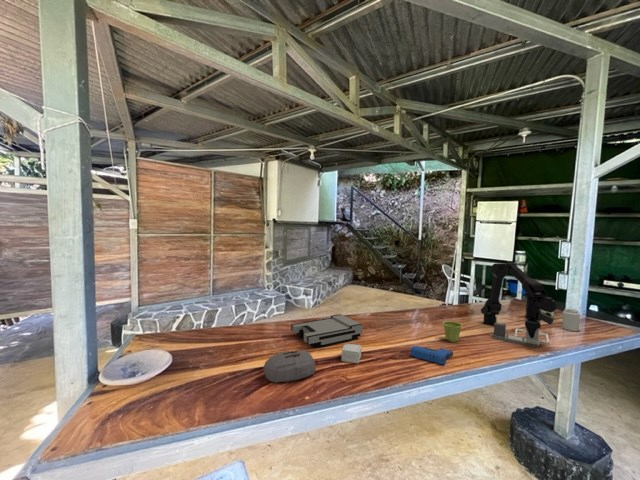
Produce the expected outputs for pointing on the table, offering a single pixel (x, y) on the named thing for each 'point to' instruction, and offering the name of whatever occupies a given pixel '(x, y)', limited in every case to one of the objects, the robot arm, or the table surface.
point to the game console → (328, 331)
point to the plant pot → (452, 330)
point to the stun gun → (431, 354)
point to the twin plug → (499, 329)
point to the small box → (351, 353)
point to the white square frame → (538, 334)
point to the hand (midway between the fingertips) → (531, 336)
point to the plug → (533, 337)
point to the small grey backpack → (289, 366)
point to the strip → (517, 340)
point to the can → (571, 320)
